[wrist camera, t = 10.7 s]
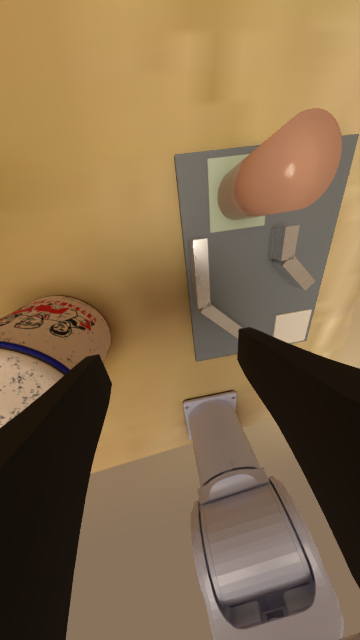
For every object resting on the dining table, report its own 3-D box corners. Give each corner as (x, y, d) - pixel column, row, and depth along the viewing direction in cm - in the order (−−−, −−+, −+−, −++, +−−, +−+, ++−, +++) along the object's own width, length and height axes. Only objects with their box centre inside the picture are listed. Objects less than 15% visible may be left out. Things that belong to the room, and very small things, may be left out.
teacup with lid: (111, 295, 17) (44, 388, 7) (116, 366, 21) (78, 495, 11) (-33, 286, 15) (-448, 399, 5) (2, 367, 19) (-183, 526, 9)
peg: (257, 217, 15) (329, 205, 9) (217, 222, 15) (263, 214, 9) (261, 164, 13) (353, 104, 7) (216, 169, 13) (271, 112, 7)
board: (303, 339, 23) (307, 341, 22) (195, 359, 22) (196, 362, 22) (353, 136, 14) (361, 132, 13) (174, 156, 13) (175, 153, 12)
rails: (290, 327, 21) (302, 336, 20) (198, 344, 21) (202, 355, 19) (310, 222, 16) (330, 220, 14) (188, 239, 15) (192, 240, 14)
